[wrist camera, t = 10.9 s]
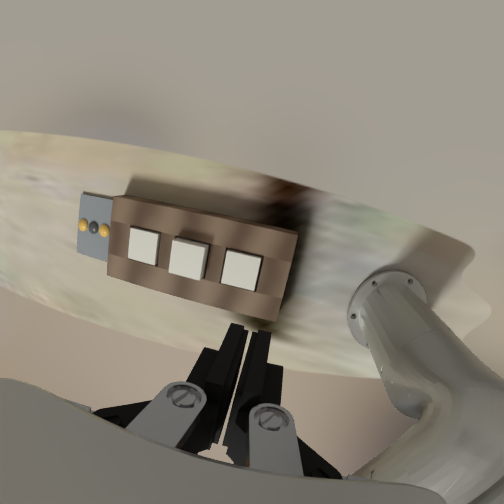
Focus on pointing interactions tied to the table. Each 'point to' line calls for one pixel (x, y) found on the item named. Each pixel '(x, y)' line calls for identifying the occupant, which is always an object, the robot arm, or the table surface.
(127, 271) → the button board
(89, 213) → the card
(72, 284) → the table surface
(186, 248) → the button middle
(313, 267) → the table surface
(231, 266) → the button
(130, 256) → the button
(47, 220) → the table surface
